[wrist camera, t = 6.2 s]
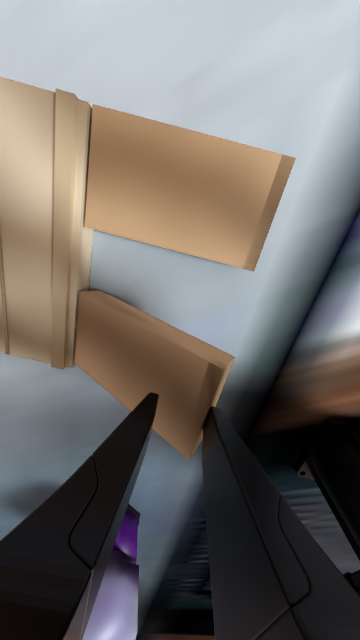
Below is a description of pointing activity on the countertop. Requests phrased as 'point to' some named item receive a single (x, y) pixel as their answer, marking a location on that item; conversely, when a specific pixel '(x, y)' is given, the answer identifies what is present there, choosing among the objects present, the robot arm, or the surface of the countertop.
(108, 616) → the potion bottle
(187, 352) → the inner oak plank
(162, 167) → the outer oak plank
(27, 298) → the pine floorboard strip
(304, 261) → the countertop surface
